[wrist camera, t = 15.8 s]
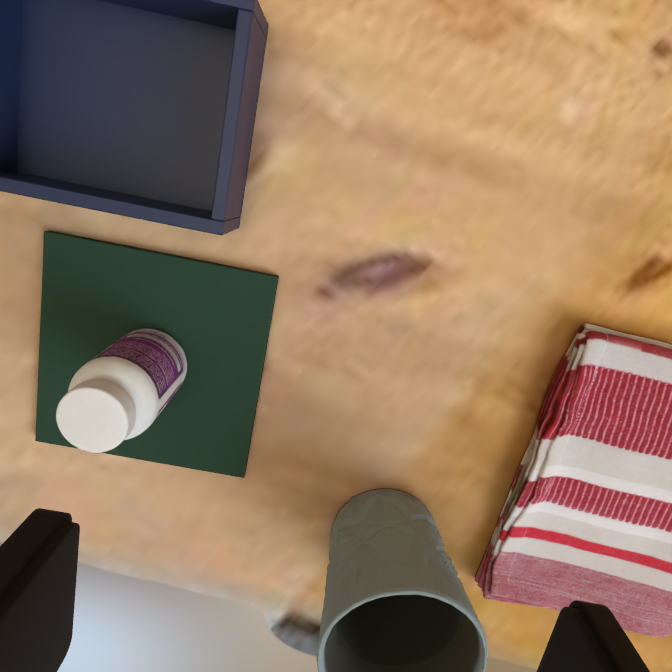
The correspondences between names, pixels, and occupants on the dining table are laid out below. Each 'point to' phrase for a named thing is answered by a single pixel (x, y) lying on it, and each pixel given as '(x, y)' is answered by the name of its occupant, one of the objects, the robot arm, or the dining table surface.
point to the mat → (166, 316)
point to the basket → (131, 105)
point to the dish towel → (594, 489)
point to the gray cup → (395, 593)
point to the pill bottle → (121, 390)
